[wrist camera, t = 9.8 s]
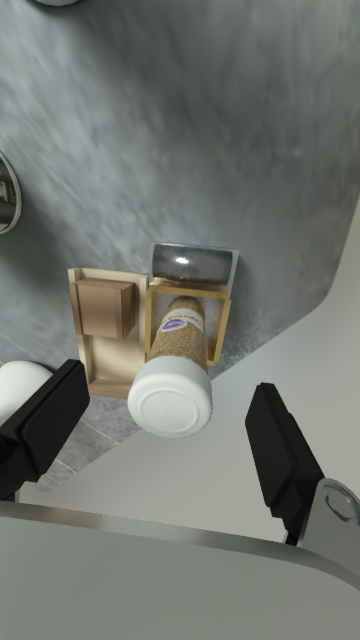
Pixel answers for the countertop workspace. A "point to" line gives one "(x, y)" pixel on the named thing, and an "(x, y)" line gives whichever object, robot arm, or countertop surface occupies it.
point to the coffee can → (8, 197)
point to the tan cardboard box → (103, 307)
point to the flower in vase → (19, 385)
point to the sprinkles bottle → (175, 376)
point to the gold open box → (190, 288)
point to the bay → (114, 341)
